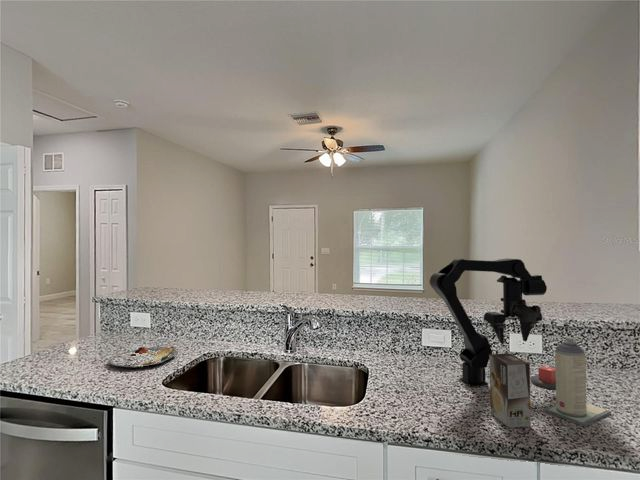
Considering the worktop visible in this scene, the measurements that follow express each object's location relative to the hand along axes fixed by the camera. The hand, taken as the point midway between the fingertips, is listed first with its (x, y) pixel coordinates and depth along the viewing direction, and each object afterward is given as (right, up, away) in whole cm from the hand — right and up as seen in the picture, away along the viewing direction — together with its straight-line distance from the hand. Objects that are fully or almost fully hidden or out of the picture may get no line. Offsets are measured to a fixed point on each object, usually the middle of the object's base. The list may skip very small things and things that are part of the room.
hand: (513, 342), depth 126 cm
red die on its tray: (+10, -13, -3) cm, 17 cm away
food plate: (-136, -15, +25) cm, 139 cm away
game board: (+5, -13, -24) cm, 27 cm away
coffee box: (-15, -13, -27) cm, 34 cm away
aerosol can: (+3, -12, -25) cm, 28 cm away
